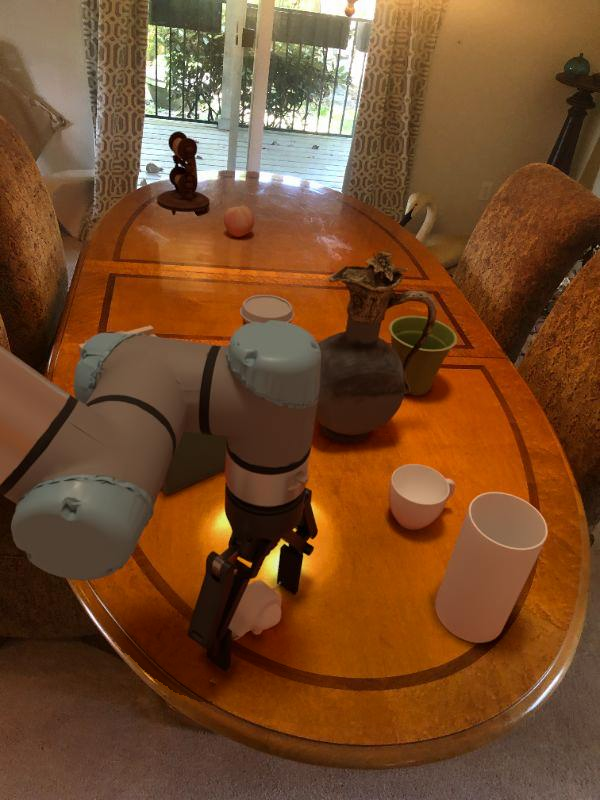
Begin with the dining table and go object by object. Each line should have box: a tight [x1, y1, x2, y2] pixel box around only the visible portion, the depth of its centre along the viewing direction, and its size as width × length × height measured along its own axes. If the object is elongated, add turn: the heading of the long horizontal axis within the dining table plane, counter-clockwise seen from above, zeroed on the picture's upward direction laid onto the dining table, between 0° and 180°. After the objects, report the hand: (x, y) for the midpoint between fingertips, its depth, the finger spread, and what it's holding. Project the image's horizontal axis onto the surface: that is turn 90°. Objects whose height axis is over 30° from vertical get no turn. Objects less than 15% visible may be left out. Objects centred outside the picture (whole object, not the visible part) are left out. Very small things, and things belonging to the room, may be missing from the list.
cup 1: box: [388, 463, 456, 531], centre depth 84 cm, size 8×10×7 cm
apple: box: [223, 204, 255, 238], centre depth 162 cm, size 8×8×8 cm
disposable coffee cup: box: [239, 294, 295, 326], centre depth 111 cm, size 10×10×12 cm
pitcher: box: [315, 251, 438, 444], centre depth 92 cm, size 11×19×30 cm, turn 104°
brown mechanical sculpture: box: [156, 131, 211, 216], centre depth 171 cm, size 15×15×20 cm
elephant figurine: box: [228, 579, 283, 641], centre depth 68 cm, size 7×8×6 cm
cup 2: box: [434, 491, 549, 644], centre depth 69 cm, size 8×8×16 cm
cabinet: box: [160, 432, 227, 497], centre depth 90 cm, size 17×14×11 cm
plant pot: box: [388, 315, 458, 396], centre depth 110 cm, size 12×12×11 cm
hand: (254, 622), depth 70 cm, fingers open, 12 cm apart
